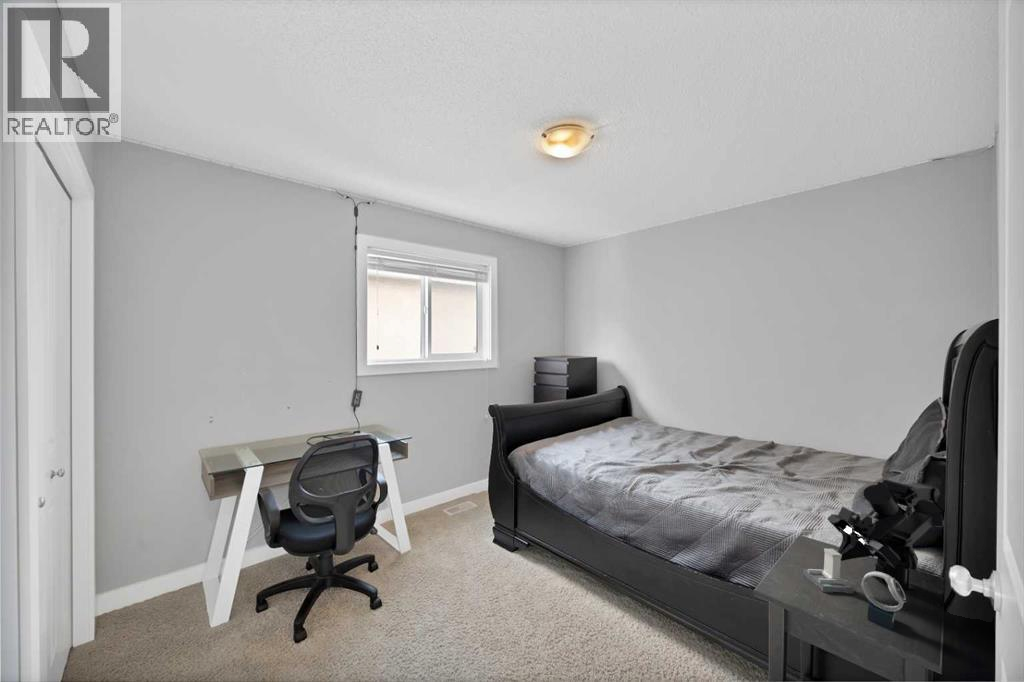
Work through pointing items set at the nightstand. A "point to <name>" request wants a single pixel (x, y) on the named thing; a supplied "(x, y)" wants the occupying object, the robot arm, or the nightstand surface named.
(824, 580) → the breaker panel
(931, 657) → the nightstand surface
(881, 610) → the watch
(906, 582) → the robot arm
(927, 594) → the nightstand surface
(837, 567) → the handle
